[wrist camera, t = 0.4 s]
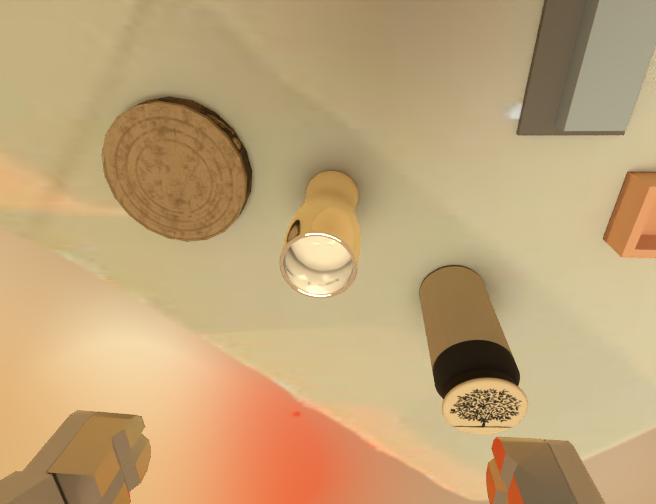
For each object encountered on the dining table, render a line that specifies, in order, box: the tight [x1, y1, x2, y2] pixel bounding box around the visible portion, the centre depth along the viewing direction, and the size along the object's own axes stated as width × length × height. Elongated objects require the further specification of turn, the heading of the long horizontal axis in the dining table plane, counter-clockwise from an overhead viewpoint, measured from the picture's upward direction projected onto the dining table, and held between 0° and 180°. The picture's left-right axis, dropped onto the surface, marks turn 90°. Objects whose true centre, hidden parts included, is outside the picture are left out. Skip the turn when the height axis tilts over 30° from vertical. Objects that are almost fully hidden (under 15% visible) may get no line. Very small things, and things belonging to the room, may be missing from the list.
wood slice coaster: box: [102, 97, 252, 242], centre depth 46 cm, size 16×16×3 cm
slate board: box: [555, 0, 656, 131], centre depth 36 cm, size 11×6×2 cm, turn 2°
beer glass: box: [280, 171, 361, 298], centre depth 40 cm, size 7×7×15 cm
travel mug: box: [420, 266, 528, 434], centre depth 45 cm, size 8×8×18 cm
